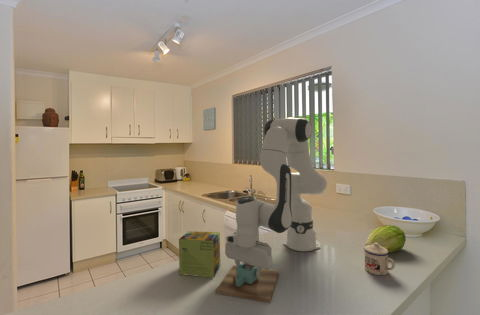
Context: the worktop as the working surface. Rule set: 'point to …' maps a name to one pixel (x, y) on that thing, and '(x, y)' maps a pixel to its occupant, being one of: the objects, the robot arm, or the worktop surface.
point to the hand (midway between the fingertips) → (248, 273)
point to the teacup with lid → (377, 259)
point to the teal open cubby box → (245, 275)
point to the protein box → (199, 253)
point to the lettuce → (387, 238)
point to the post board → (250, 285)
